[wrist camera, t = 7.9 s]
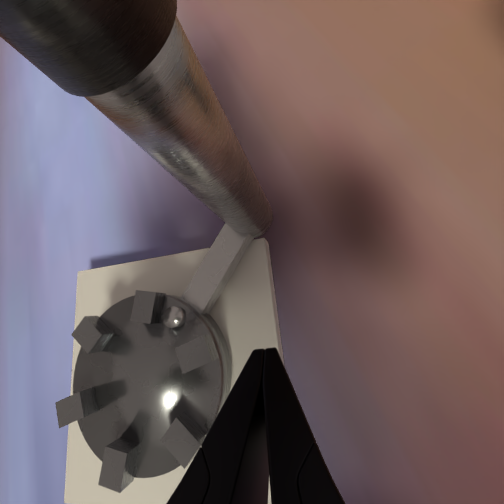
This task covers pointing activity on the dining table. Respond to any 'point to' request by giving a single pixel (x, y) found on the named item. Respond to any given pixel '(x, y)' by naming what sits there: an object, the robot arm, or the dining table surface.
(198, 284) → the grey l-shaped piece
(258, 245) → the base plate
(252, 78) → the dining table surface
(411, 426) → the dining table surface
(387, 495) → the dining table surface
